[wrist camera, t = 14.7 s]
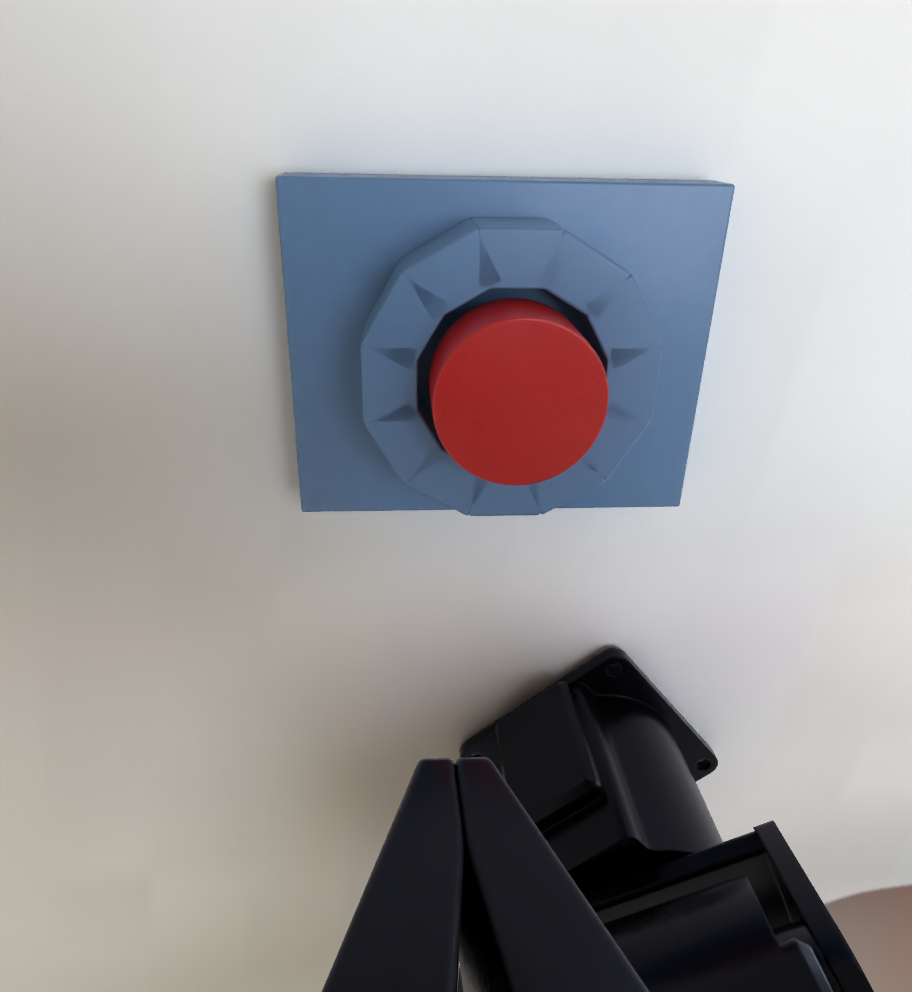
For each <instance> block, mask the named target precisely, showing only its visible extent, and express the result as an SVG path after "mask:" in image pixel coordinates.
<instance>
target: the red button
mask: <svg viewBox="0 0 912 992" xmlns="http://www.w3.org/2000/svg"><path fill="white" fill-rule="evenodd" d="M429 391H430V399H431V406H432V414H433V420H434V425H435V429H436V432H437V434H438V437H439V439H440V441H441V443H442V445H443V447H444V448H445V450H446V451H447V453H448V454H449V455H450V456H451V457H452V459H453V460H454V461H455V462H456V463H457V464H458V465H460V466H461V467H462V468H463V469H465V470H466V471H468V472H469V473H471V474H473V475H474V476H477V477H479V478H481V479H483V480H486V481H490V482H493V483H497V484H503V485H528V484H533V483H538V482H541V481H544V480H548V479H550V478H552V477H555V476H557V475H559V474H561V473H562V472H564V471H566V470H567V469H569V468H570V467H571V466H573V465H574V464H575V463H577V462H578V461H579V460H580V459H581V458H582V457H583V456H584V455H585V454H586V453H587V452H588V450H589V449H590V448H591V447H592V445H593V444H594V442H595V441H596V439H597V437H598V435H599V433H600V431H601V429H602V427H603V424H604V421H605V418H606V415H607V409H608V402H609V389H608V381H607V377H606V372H605V370H604V367H603V364H602V362H601V360H600V358H599V357H598V355H597V353H596V351H595V350H594V349H593V348H592V346H591V345H590V344H589V343H588V341H587V340H586V339H585V338H584V337H583V336H582V334H581V333H580V332H579V331H578V330H577V329H576V328H575V326H574V325H573V324H572V323H571V322H570V321H569V320H568V319H567V318H566V317H565V316H564V315H562V314H561V313H560V312H558V311H557V310H555V309H553V308H552V307H550V306H548V305H546V304H543V303H540V302H537V301H533V300H529V299H521V298H506V299H499V300H494V301H490V302H487V303H484V304H482V305H479V306H477V307H475V308H473V309H471V310H470V311H468V312H467V313H465V314H464V315H462V316H461V317H460V318H459V319H458V320H456V321H455V322H454V323H453V324H452V325H451V326H450V328H449V329H448V330H447V331H446V332H445V334H444V335H443V337H442V338H441V340H440V341H439V343H438V345H437V347H436V349H435V352H434V355H433V357H432V361H431V365H430V371H429Z"/></svg>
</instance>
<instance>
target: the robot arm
mask: <svg viewBox="0 0 912 992" xmlns="http://www.w3.org/2000/svg"><path fill="white" fill-rule="evenodd" d="M613 663H619V664H618V665H617V666H615V667H609V666H610V665H611V664H613ZM459 751H460V758H459V759H457V760H456V762H455V764H454V762H453V760H452V759H450V758H428V759H422V760H420V761H419V762H418V764H417V766H416V768H415V771H414V773H413V776H412V778H411V780H410V783H409V785H408V787H407V790H406V792H405V795H404V797H403V799H402V802H401V804H400V807H399V809H398V811H397V814H396V816H395V818H394V821H393V823H392V826H391V828H390V830H389V833H388V835H387V838H386V840H385V842H384V845H383V847H382V849H381V852H380V854H379V857H378V859H377V861H376V864H375V866H374V868H373V871H372V873H371V876H370V878H369V880H368V883H367V885H366V888H365V890H364V892H363V895H362V897H361V899H360V902H359V904H358V907H357V909H356V911H355V914H354V916H353V918H352V921H351V923H350V926H349V928H348V930H347V933H346V935H345V938H344V940H343V942H342V945H341V947H340V949H339V952H338V954H337V957H336V959H335V961H334V964H333V966H332V969H331V971H330V973H329V976H328V978H327V980H326V983H325V985H324V988H323V990H322V992H457V981H458V965H459V963H460V969H459V981H458V992H874V991H873V989H872V988H871V986H870V984H869V982H868V980H867V978H866V976H865V974H864V972H863V971H862V969H861V967H860V965H859V963H858V962H857V960H856V958H855V956H854V954H853V952H852V951H851V949H850V947H849V945H848V944H847V942H846V940H845V939H844V937H843V935H842V933H841V932H840V930H839V929H838V927H837V925H836V923H835V922H834V920H833V918H832V917H831V915H830V914H829V912H828V910H827V909H826V907H825V905H824V904H823V902H822V900H821V899H820V897H819V895H818V894H817V892H816V890H815V889H814V887H813V885H812V884H811V882H810V880H809V879H808V877H807V875H806V874H805V872H804V870H803V869H802V867H801V866H800V864H799V862H798V861H797V859H796V857H795V856H794V854H793V852H792V851H791V849H790V847H789V846H788V844H787V842H786V841H785V839H784V837H783V836H782V834H781V832H780V831H779V829H778V827H777V826H776V824H775V822H774V821H770V822H767V823H764V824H762V825H759V826H756V827H753V828H754V832H751V833H748V834H745V835H742V836H740V837H737V838H734V839H731V840H728V841H726V842H723V841H722V839H721V837H720V835H719V833H718V830H717V828H716V826H715V824H714V822H713V819H712V817H711V815H710V813H709V811H708V808H707V806H706V804H705V802H704V800H703V797H702V795H701V793H700V791H699V788H698V786H697V784H696V781H698V780H700V779H701V778H703V777H705V776H706V775H708V774H710V773H711V772H713V771H714V770H715V769H716V767H717V765H718V760H717V758H716V756H715V754H714V752H713V750H712V749H711V747H710V746H709V745H708V744H707V743H706V742H705V741H704V740H703V739H702V737H701V736H700V735H699V734H698V733H697V732H696V731H695V730H694V729H693V727H692V726H691V725H690V724H689V723H688V722H687V721H686V720H685V719H684V717H683V716H682V715H681V714H680V713H679V712H678V711H677V710H676V709H675V707H674V706H673V705H672V704H671V703H670V702H669V701H668V700H667V699H666V697H665V696H664V695H663V694H662V693H661V692H660V691H659V690H658V689H657V687H656V686H655V685H654V684H653V683H652V682H651V681H650V680H649V679H648V677H647V676H646V675H645V674H644V673H643V672H642V671H641V670H640V669H639V668H638V666H637V665H636V664H635V663H634V662H633V661H632V660H631V659H630V658H629V656H628V655H627V654H626V653H625V652H624V651H622V650H621V649H616V648H613V649H608V650H605V651H603V652H602V653H600V654H599V655H597V656H596V657H594V658H592V659H591V660H589V661H588V662H586V663H585V664H583V665H582V666H580V667H579V668H577V669H576V670H574V671H573V672H571V673H570V674H568V675H566V676H565V677H563V678H562V679H560V680H559V681H557V682H556V683H554V684H553V685H551V686H550V687H548V688H547V689H545V690H544V691H542V692H540V693H539V694H537V695H536V696H534V697H533V698H531V699H530V700H528V701H527V702H525V703H524V704H522V705H521V706H519V707H517V708H516V709H514V710H513V711H511V712H510V713H508V714H507V715H505V716H504V717H502V718H501V719H499V720H498V721H496V722H495V723H493V724H491V725H490V726H488V727H487V728H485V729H484V730H482V731H481V732H479V733H478V734H476V735H475V736H473V737H472V738H470V739H469V740H467V741H465V742H464V743H463V744H462V745H461V747H460V749H459ZM472 754H479V755H476V756H471V755H472ZM701 760H702V761H701Z"/></svg>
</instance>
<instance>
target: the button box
mask: <svg viewBox="0 0 912 992" xmlns="http://www.w3.org/2000/svg"><path fill="white" fill-rule="evenodd" d="M276 192H277V205H278V217H279V230H280V243H281V255H282V268H283V281H284V294H285V306H286V319H287V332H288V344H289V357H290V370H291V383H292V395H293V408H294V421H295V434H296V446H297V459H298V472H299V484H300V497H301V509H302V511H303V512H318V511H387V510H457V511H459V512H461V513H463V514H465V515H468V514H469V515H470V516H502V515H538V514H539V513H541V514H544V513H546V512H548V511H550V510H552V509H554V508H594V507H663V506H679V504H680V498H681V492H682V487H683V481H684V475H685V469H686V463H687V458H688V452H689V446H690V440H691V435H692V429H693V423H694V417H695V412H696V406H697V400H698V394H699V389H700V383H701V377H702V371H703V366H704V360H705V354H706V348H707V343H708V337H709V331H710V325H711V319H712V314H713V308H714V302H715V296H716V291H717V285H718V279H719V273H720V268H721V262H722V256H723V250H724V245H725V239H726V233H727V227H728V222H729V216H730V210H731V204H732V199H733V193H734V185H733V184H729V183H724V182H718V181H709V180H656V179H603V178H551V177H498V176H445V175H392V174H340V173H287V172H285V173H283V174H281V175H278V176H276ZM506 298H521V299H529V300H533V301H537V302H540V303H543V304H546V305H548V306H550V307H552V308H553V309H555V310H557V311H558V312H560V313H561V314H562V315H564V316H565V317H566V318H567V319H568V320H569V321H570V322H571V323H572V324H573V325H574V326H575V328H576V329H577V330H578V331H579V332H580V333H581V334H582V336H583V337H584V338H585V339H586V340H587V341H588V343H589V344H590V345H591V346H592V348H593V349H594V350H595V351H596V353H597V355H598V357H599V358H600V360H601V362H602V364H603V367H604V370H605V372H606V377H607V381H608V389H609V402H608V409H607V415H606V418H605V421H604V424H603V427H602V429H601V431H600V433H599V435H598V437H597V439H596V441H595V442H594V444H593V445H592V447H591V448H590V449H589V450H588V452H587V453H586V454H585V455H584V456H583V457H582V458H581V459H580V460H579V461H578V462H577V463H575V464H574V465H573V466H571V467H570V468H569V469H567V470H566V471H564V472H562V473H561V474H559V475H557V476H555V477H552V478H550V479H548V480H544V481H541V482H538V483H533V484H528V485H503V484H497V483H493V482H490V481H486V480H483V479H481V478H479V477H477V476H474V475H473V474H471V473H469V472H468V471H466V470H465V469H463V468H462V467H461V466H460V465H458V464H457V463H456V462H455V461H454V460H453V459H452V457H451V456H450V455H449V454H448V453H447V451H446V450H445V448H444V447H443V445H442V443H441V441H440V439H439V437H438V434H437V432H436V429H435V425H434V420H433V414H432V406H431V399H430V391H429V371H430V365H431V361H432V357H433V355H434V352H435V349H436V347H437V345H438V343H439V341H440V340H441V338H442V337H443V335H444V334H445V332H446V331H447V330H448V329H449V328H450V326H451V325H452V324H453V323H454V322H455V321H456V320H458V319H459V318H460V317H461V316H462V315H464V314H465V313H467V312H468V311H470V310H471V309H473V308H475V307H477V306H479V305H482V304H484V303H487V302H490V301H494V300H499V299H506Z"/></svg>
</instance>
